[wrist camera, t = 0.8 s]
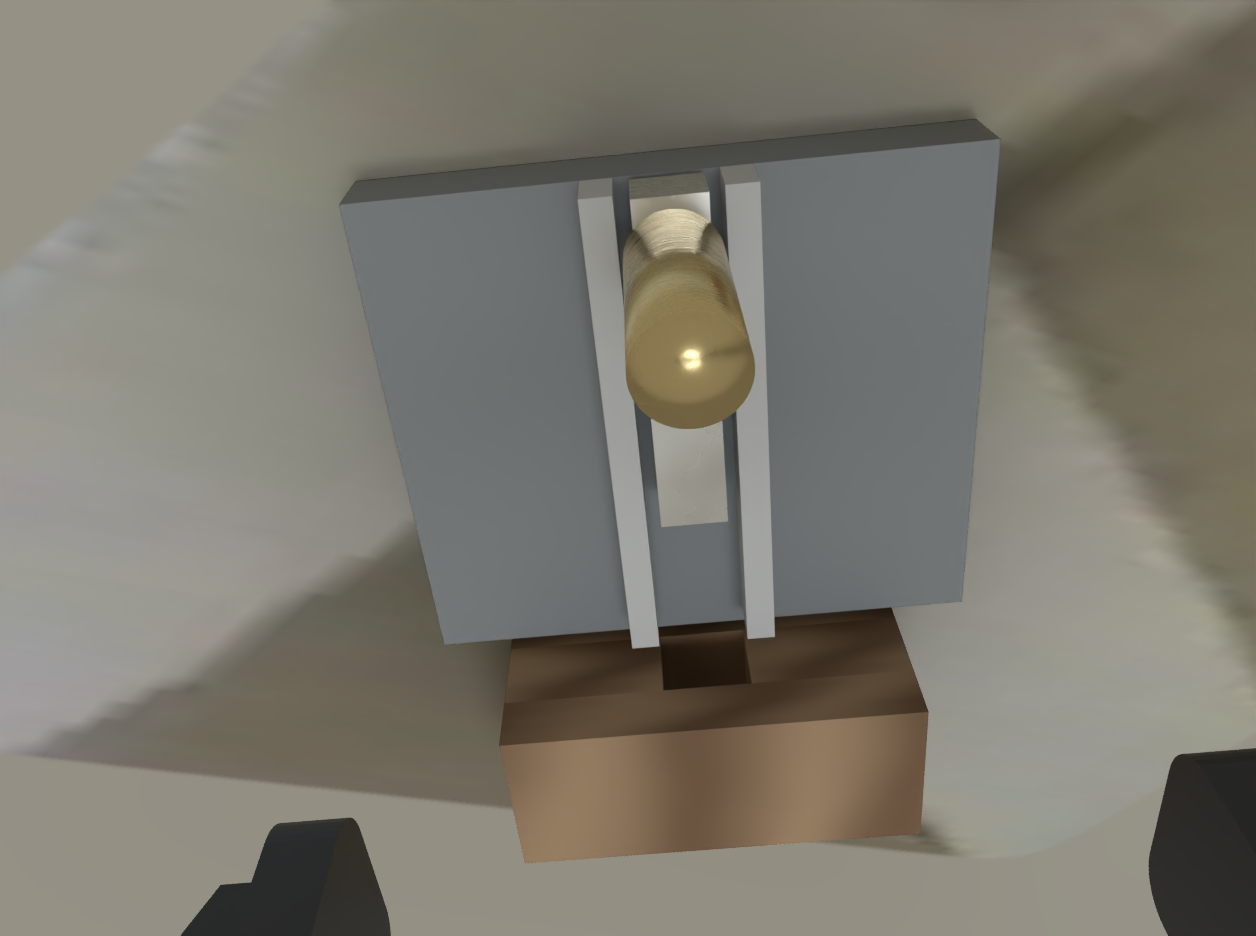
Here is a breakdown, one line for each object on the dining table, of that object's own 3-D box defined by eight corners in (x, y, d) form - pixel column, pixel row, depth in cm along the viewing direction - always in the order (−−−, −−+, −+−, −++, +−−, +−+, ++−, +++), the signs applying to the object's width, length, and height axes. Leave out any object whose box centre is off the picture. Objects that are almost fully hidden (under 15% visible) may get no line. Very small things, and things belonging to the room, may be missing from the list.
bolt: (716, 170, 25) (752, 290, 19) (733, 488, 30) (766, 672, 24) (616, 181, 25) (617, 302, 19) (648, 495, 30) (658, 681, 24)
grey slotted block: (975, 119, 27) (1021, 155, 24) (944, 562, 34) (976, 633, 31) (356, 181, 28) (324, 224, 25) (453, 604, 35) (438, 677, 32)
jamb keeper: (881, 580, 35) (928, 711, 30) (877, 694, 37) (920, 833, 32) (515, 611, 35) (498, 746, 30) (536, 721, 38) (524, 863, 33)
